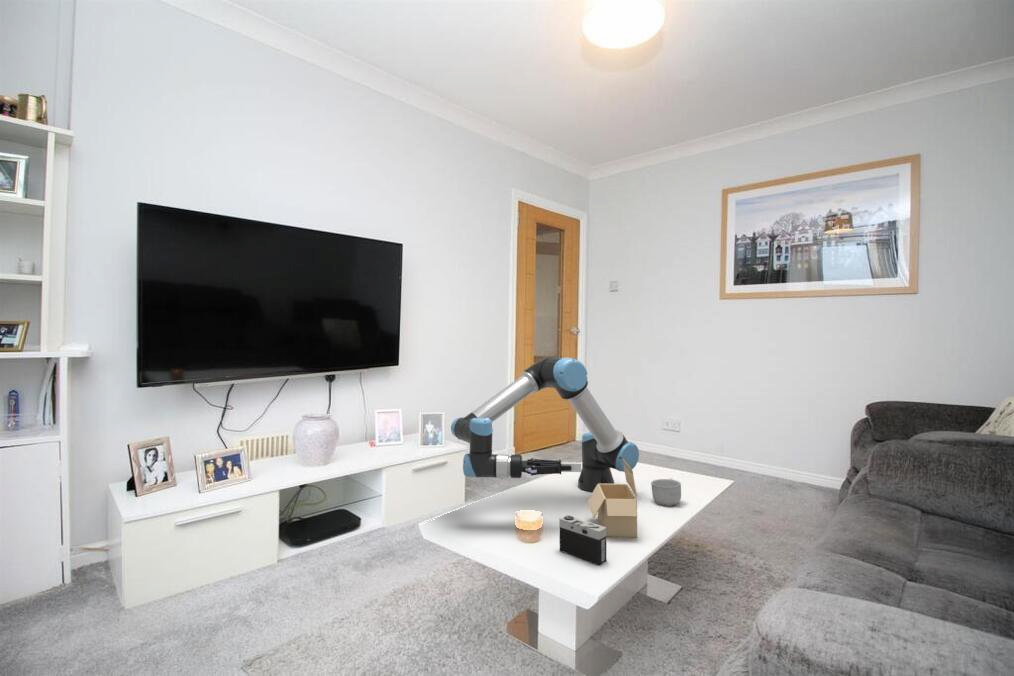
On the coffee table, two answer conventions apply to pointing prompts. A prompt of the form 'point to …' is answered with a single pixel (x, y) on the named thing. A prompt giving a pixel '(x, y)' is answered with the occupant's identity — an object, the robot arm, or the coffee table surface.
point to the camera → (583, 539)
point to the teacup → (666, 491)
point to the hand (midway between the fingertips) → (580, 467)
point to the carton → (615, 509)
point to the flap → (629, 476)
